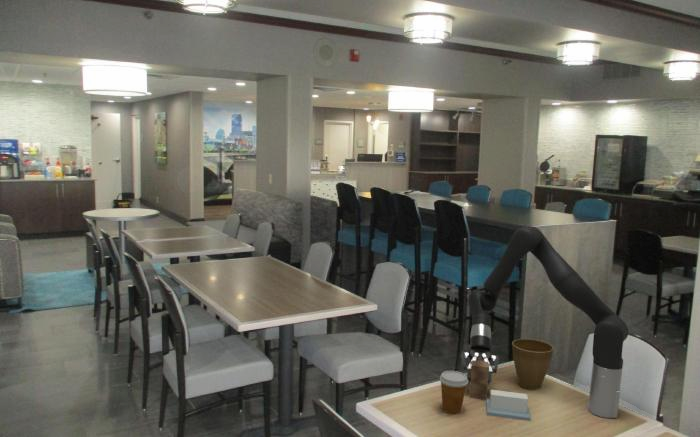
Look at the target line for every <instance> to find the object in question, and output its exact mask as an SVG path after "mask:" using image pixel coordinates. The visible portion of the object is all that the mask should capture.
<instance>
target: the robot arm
mask: <svg viewBox="0 0 700 437" xmlns="http://www.w3.org/2000/svg"><path fill="white" fill-rule="evenodd" d="M528 253H531V254H532V255H533V256H534V257H535V258H536V259H537V260H538V262H539V263H540V264H541V265H542V267H543V269H544V271H545V273H546V275H547V276H546V277H547V278H548V280H549V282H550V283H551V285H552V286H553V287H554V288H555V290H556V291H557V293H559V294H560V295H561V297H563V298H564V299H565V300H566V301H567V302H569V303H570V304H571V305H573V306H574V307H575V308H577V309H579V310H580V311H582V312H584V313H585V314H586V315H587V316H588V317H589V319H591V321H592V322H593V323H594V325H595V328H594V330H593V331H594V332H593V340H592V341H593V342H592V358H593V359H592V367H591V368H592V370H591V378H590V388H589V389H590V390H589V397H588V407H587V408H588V411H589V412H590V413H592V414H593V415H595V416H598V417H601V418H605V419H613V418H614V419H618V413H619V404H620V395H621V383H622V376H623V367H624V359H623V348H624V347H623V346H624V341H626V340H627V338H628V336H629V329H628V328H629V327H628V326H627V324H626V322H625V321H624V320H623V319H622V318H621V317H620V316H619V315H618V314H617V313H616V312H614V311H613V310H612V309H611V308H610V307H609V306H608V305H607V304H605V302H603V301H602V299H601V298H600V297H599V296H598V295H597V293H596V292H595V291H594V290H593V289H592V288H591V287H590V286H589V285H588V284H587V283H586V280H584V279H583V278H582V276H580V274H578V272H576V270H575V269H574V268H573V267H572V266H571V265H570V264H569V263H568V262H567V261H566V260H565V258H563V257H562V256H561V255H560V254H559V253H558V252H557V250H556V249H555V248H554V247H553V245H552V244H551V243H550V242H549V240H548V239H547V238H546V236H545V235H544V233H543V232H542V231H541V230H540V229H539V228H538V227H535V226H534V225H533V226H532V225H527V226H523V227H520V228H517V229H516V230H515V231H514V233H513V234H512V236H511V238H510V240H509V243H508V245H507V246H506V249H505V251H504V252H503V254H502V256H501V258H500V260H499V261H498V262H497V264H496V265H495V266H494V268H493V269H492V271H491V272H490V274H489V275H488V276H487V277H486V279H485V281H484V282H483V286H484V288H485V290H486V291H488V292H489V293H488V292H484V291H482V290H480V289H473V290H472V291H471V292H470V293H469V296H468V305H469V306H468V307H469V311H470V316H471V318H472V319H471V331H470V342H469V343H470V344H469V351H468V352H465V351H461V354H460V355H461V356H460V357H461V368H462V370H465V371H466V376H467V379H468V382H470V381H471V363H472V360H474V361H475V360H481V361H485V362H489V375H488V385H489V384H491V382H492V379H493V374H496V373H497V372H498V366H499V361H500V356H499V355H493V354H492V331H491V328H492V323H491V322H492V318H491V315H490V314H489V313H488V312H492V311H493V310H494V309H495V308H496V306H497V302H498V299H499V297H500V294H501V292H502V290H503V289H504V288H505V286H506V285H507V284H508V282H509V281H510V279H511V277H512V275H513V272H514V271H515V269H516V267H517V264H518V263H520V261H521V260H522V258H523V257H525V256H526V255H527V254H528ZM468 358H470V362H469V364H468V365H467V363H466V359H468ZM491 360H492V362H493V363H494V364H493V365H494V366H493V367H492V366H491V364H490V361H491Z"/></svg>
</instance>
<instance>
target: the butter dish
mask: <svg viewBox="0 0 700 437" xmlns="http://www.w3.org/2000/svg"><path fill="white" fill-rule="evenodd" d="M489 394H490V395H489V398H487V399H485V400H486V401H485V403H486V404H485V405H486V415H487V416H492V417H500V418H506V419H515V420H522V421H531V419H532V417H531V413H530V407H529V404H528V403H529V396H528V395H527V393H520V392H511V391H504V390H498V389H497V390H496V389H490V393H489Z"/></svg>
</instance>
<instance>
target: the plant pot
mask: <svg viewBox="0 0 700 437" xmlns="http://www.w3.org/2000/svg"><path fill="white" fill-rule="evenodd" d="M511 347H512V355H513V364H514V368H515V374H516V376H517V377H516V378H517V380H518V384H519V385H520V386H521V387H522V388H524V389H529V390H538V389H540V387H541V385H543V382H544V380H545V378H546V376H547V373H548V370H549V367H550V364H551V361H552V358H553V355H554V354H553V352H554V349H555V348H554V346H553V345H551V344H550V343H548V342H546V341H542V340H538V339H533V338H519V339H515V340H513V341H512V343H511Z"/></svg>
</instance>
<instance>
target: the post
mask: <svg viewBox="0 0 700 437" xmlns="http://www.w3.org/2000/svg"><path fill="white" fill-rule="evenodd" d="M489 363H490V361H489V362H485V361H481V360H475V361H474V360H472V363H471V381H469V389H468V391H469V393H468V394H469V396H468V397H469V398H470V399H472V398H473V399H478V400H486V399H488V388H489V384H488V375H489Z"/></svg>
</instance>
